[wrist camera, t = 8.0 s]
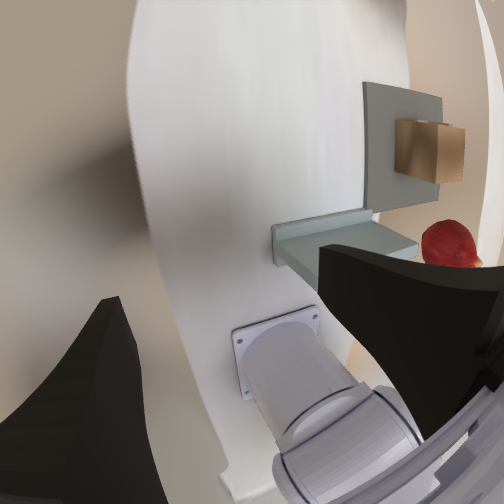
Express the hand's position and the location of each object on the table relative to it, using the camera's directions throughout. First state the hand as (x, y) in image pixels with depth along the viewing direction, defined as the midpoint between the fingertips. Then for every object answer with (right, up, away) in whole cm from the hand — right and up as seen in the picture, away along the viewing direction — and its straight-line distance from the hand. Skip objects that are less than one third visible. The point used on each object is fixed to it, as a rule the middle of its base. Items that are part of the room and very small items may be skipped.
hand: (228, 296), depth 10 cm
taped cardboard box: (+15, +11, +13) cm, 22 cm away
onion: (+19, +3, +18) cm, 27 cm away
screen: (+6, +3, +13) cm, 15 cm away
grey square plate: (+15, +11, +13) cm, 23 cm away
